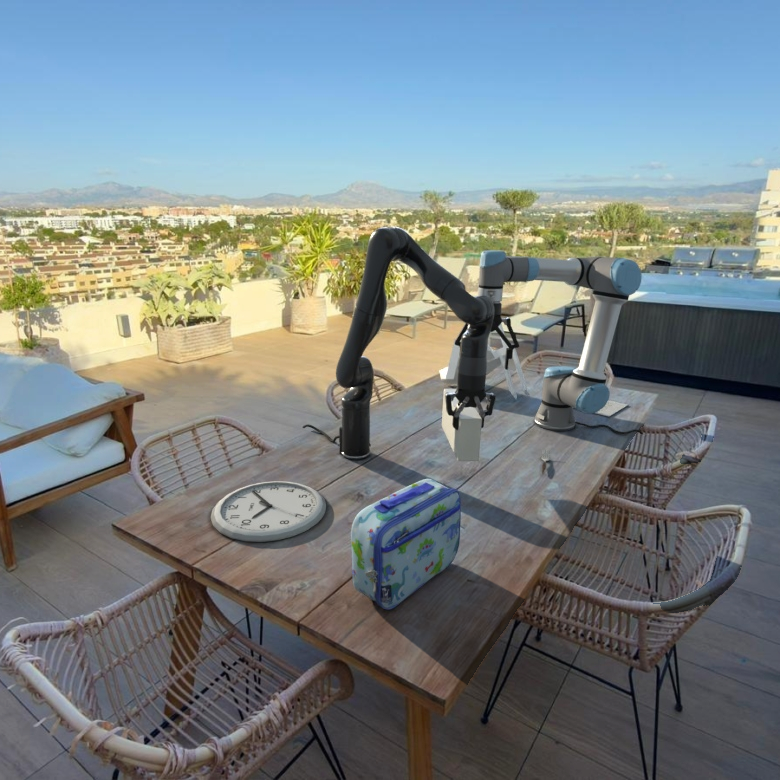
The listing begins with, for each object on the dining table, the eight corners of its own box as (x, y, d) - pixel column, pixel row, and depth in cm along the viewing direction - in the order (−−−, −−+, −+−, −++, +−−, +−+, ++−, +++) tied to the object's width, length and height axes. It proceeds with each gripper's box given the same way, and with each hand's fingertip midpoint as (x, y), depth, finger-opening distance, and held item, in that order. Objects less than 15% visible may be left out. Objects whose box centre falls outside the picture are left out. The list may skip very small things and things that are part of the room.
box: (441, 425, 170) (443, 388, 166) (459, 425, 171) (461, 388, 167) (457, 461, 145) (460, 418, 141) (478, 461, 146) (482, 418, 142)
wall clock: (324, 533, 126) (196, 538, 124) (324, 539, 127) (197, 544, 124) (327, 477, 155) (224, 479, 152) (327, 482, 155) (224, 484, 153)
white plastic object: (461, 429, 252) (437, 405, 227) (444, 352, 274) (420, 323, 250) (535, 404, 240) (518, 377, 215) (510, 326, 262) (492, 293, 237)
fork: (538, 474, 162) (538, 468, 162) (542, 454, 177) (542, 449, 176) (546, 475, 162) (547, 470, 161) (550, 455, 176) (550, 450, 175)
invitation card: (608, 416, 214) (573, 407, 224) (608, 416, 214) (573, 408, 224) (628, 404, 229) (594, 396, 238) (628, 405, 229) (594, 397, 238)
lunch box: (380, 623, 100) (381, 528, 94) (344, 596, 108) (343, 505, 101) (464, 565, 118) (470, 482, 112) (428, 545, 125) (432, 466, 119)
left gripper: (448, 374, 137) (444, 434, 142) (502, 374, 138) (496, 434, 143) (443, 367, 144) (440, 424, 149) (494, 367, 145) (489, 424, 150)
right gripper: (449, 302, 161) (445, 368, 167) (532, 304, 158) (525, 372, 164) (449, 298, 168) (446, 362, 174) (528, 301, 165) (522, 366, 171)
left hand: (467, 428), depth 146 cm, fingers closed on box, 6 cm apart
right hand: (484, 367), depth 169 cm, fingers open, 13 cm apart
